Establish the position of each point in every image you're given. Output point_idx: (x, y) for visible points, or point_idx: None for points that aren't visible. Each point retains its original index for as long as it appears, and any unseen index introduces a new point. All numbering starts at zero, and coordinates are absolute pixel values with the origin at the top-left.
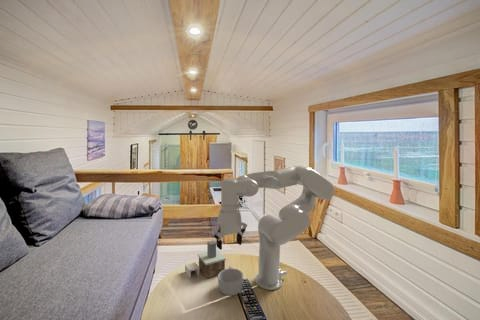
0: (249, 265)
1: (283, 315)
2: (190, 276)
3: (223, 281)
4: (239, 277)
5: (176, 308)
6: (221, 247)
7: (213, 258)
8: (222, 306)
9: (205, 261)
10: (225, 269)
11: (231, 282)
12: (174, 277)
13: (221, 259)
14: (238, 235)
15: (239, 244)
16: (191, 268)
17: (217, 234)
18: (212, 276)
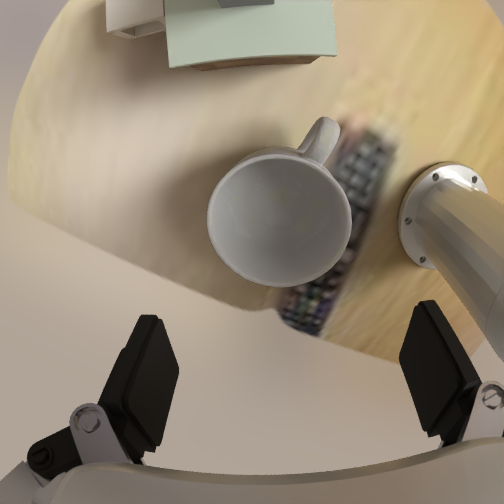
0: (456, 64)
1: (358, 351)
2: (129, 35)
3: (221, 256)
4: (338, 205)
5: (68, 204)
6: (170, 387)
7: (246, 16)
8: (211, 258)
9: (174, 37)
10: (280, 157)
11: (255, 282)
12: (82, 11)
13: (298, 53)
14: (441, 412)
15: (400, 352)
16: (121, 18)
17: (85, 462)
18: (235, 65)
